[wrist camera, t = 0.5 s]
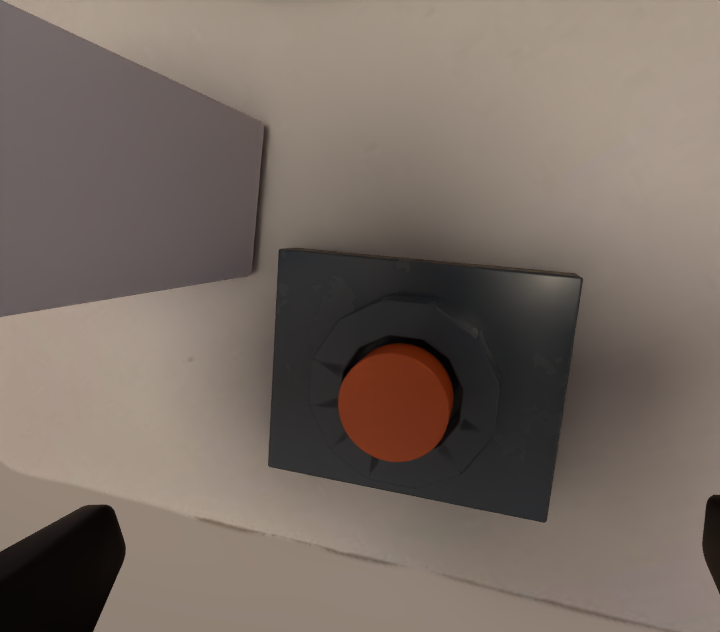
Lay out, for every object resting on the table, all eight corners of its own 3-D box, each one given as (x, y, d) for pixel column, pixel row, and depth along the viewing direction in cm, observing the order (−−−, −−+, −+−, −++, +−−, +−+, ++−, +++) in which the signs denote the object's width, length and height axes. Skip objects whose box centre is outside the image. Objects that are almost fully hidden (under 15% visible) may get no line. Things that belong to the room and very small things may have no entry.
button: (459, 349, 18) (455, 361, 16) (448, 451, 18) (442, 473, 16) (356, 335, 18) (341, 346, 17) (348, 433, 19) (333, 452, 17)
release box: (576, 273, 19) (592, 281, 16) (543, 501, 21) (551, 552, 17) (294, 247, 22) (257, 249, 18) (283, 451, 23) (246, 487, 20)
